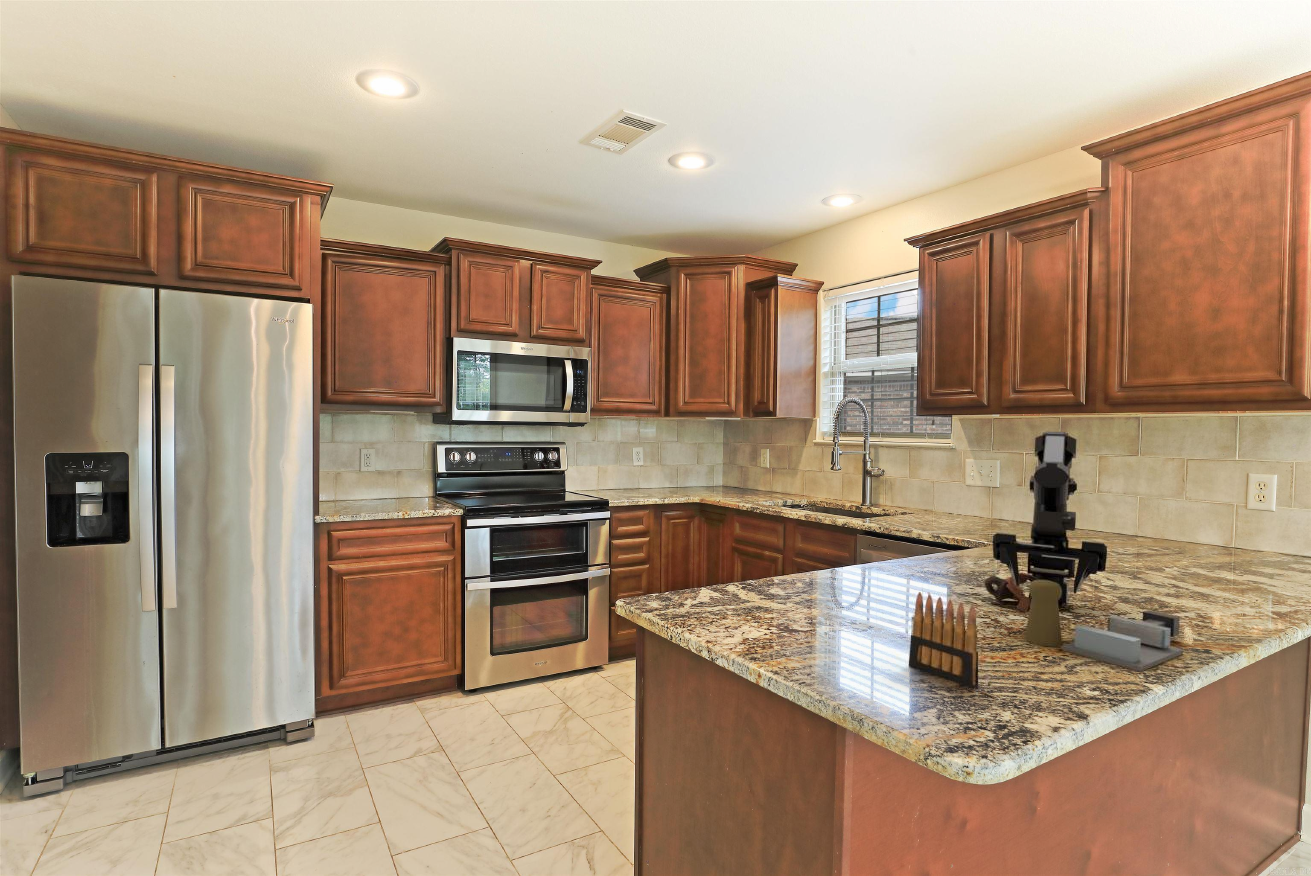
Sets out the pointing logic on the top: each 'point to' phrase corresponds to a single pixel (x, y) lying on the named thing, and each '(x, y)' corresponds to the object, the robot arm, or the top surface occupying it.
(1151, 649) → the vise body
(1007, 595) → the brown twisted loop knot
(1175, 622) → the vise jaw
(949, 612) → the ammunition clip
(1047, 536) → the robot arm
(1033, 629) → the cork
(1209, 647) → the top surface
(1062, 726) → the top surface
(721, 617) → the top surface
